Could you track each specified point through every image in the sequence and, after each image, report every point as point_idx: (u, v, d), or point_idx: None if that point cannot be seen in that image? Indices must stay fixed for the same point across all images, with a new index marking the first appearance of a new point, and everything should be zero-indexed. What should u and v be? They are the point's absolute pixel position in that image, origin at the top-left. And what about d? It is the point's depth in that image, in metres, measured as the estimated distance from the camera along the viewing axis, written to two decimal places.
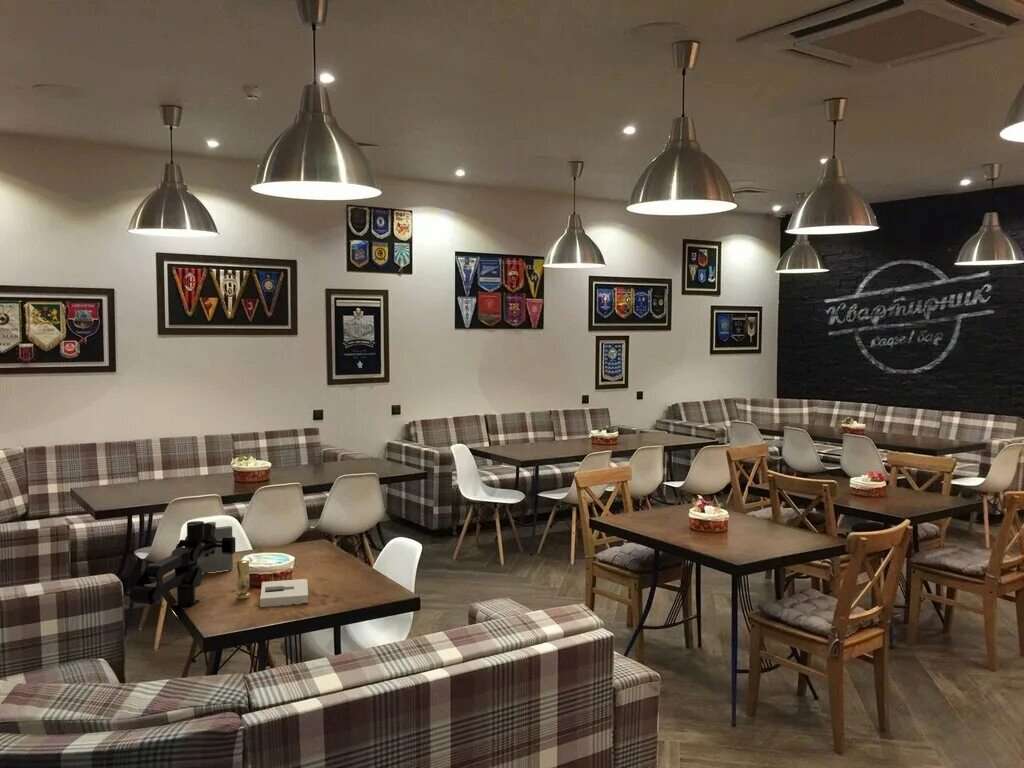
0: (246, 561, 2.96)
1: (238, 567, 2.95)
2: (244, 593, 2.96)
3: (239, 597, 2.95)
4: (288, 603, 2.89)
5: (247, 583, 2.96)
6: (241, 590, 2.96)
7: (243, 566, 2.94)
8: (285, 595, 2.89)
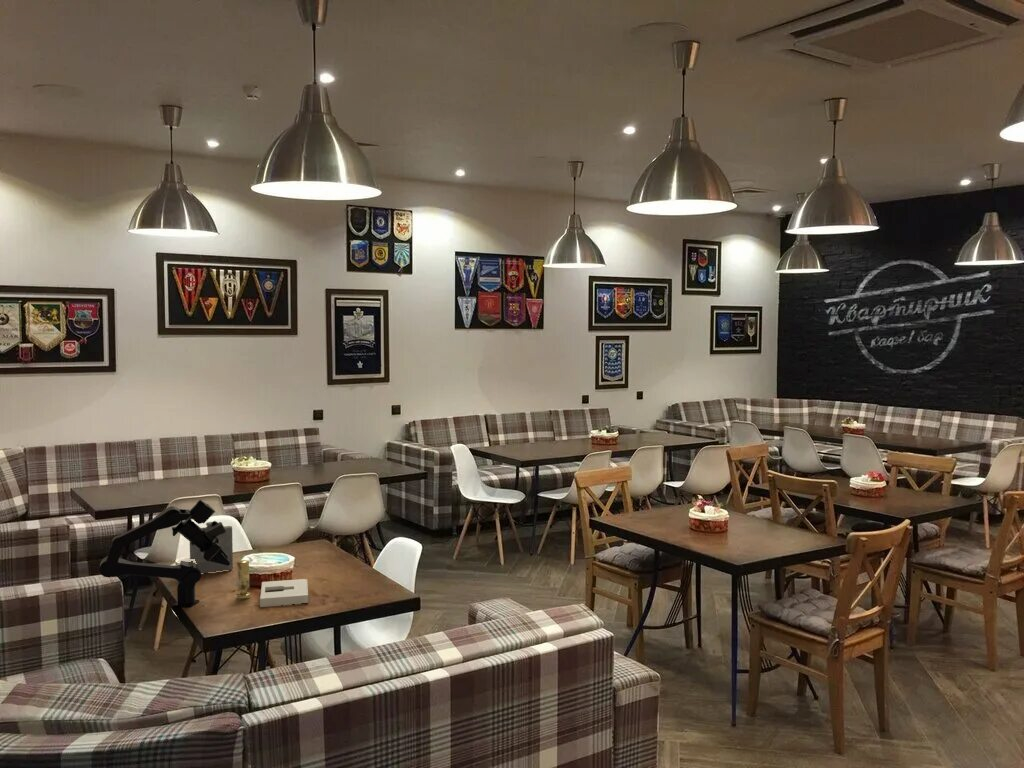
0: (246, 561, 2.96)
1: (238, 567, 2.95)
2: (244, 593, 2.96)
3: (239, 597, 2.95)
4: (288, 603, 2.89)
5: (247, 583, 2.96)
6: (241, 590, 2.96)
7: (243, 566, 2.94)
8: (285, 595, 2.89)
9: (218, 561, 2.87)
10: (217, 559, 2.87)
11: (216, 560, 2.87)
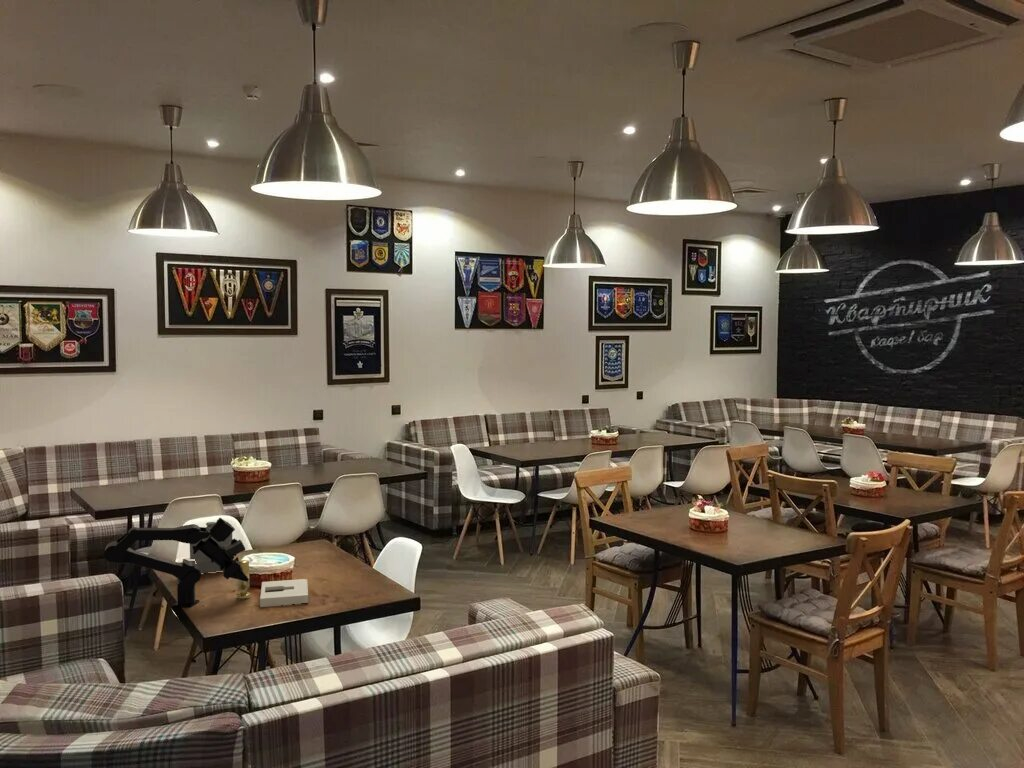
0: (246, 561, 2.96)
1: None
2: (244, 593, 2.96)
3: (239, 597, 2.95)
4: (288, 603, 2.89)
5: (247, 583, 2.96)
6: (241, 590, 2.96)
7: (243, 566, 2.94)
8: (285, 595, 2.89)
9: (237, 577, 2.92)
10: (236, 575, 2.92)
11: (235, 576, 2.92)
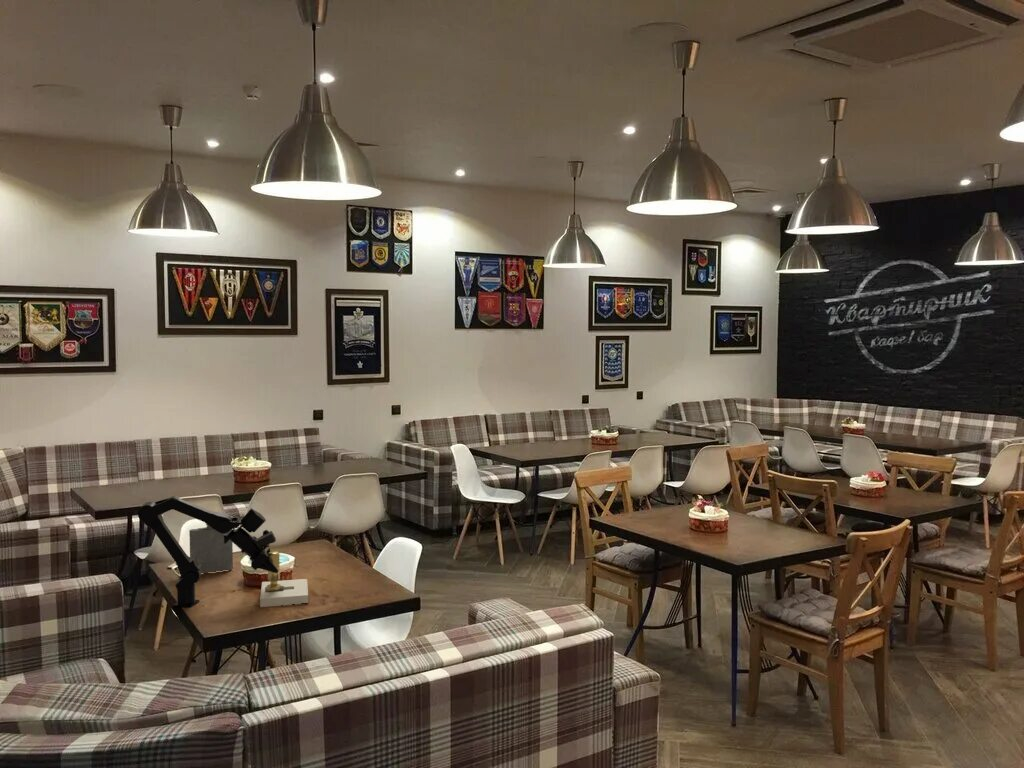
0: (276, 553, 2.96)
1: None
2: (274, 584, 2.96)
3: (269, 588, 2.95)
4: (288, 603, 2.89)
5: (277, 575, 2.95)
6: (271, 581, 2.96)
7: (273, 557, 2.94)
8: (285, 595, 2.89)
9: (266, 568, 2.92)
10: (265, 566, 2.92)
11: (264, 567, 2.92)
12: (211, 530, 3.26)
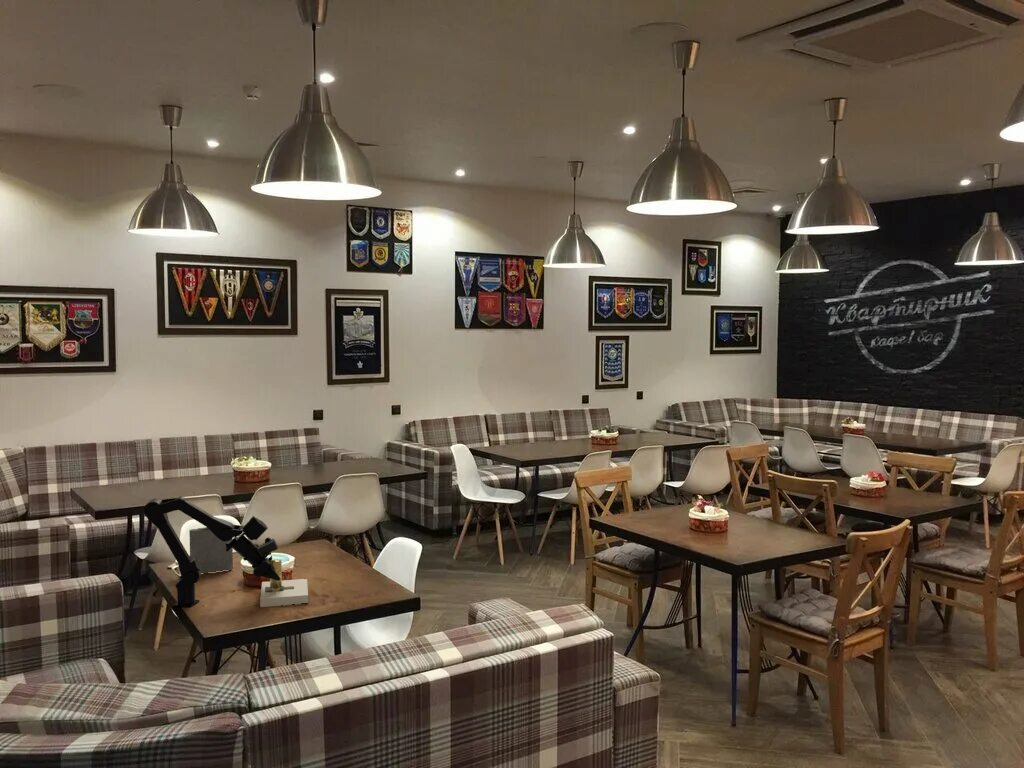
0: (279, 560, 2.97)
1: None
2: None
3: None
4: (288, 603, 2.89)
5: (279, 582, 2.96)
6: (273, 589, 2.96)
7: (275, 565, 2.95)
8: (285, 595, 2.89)
9: (269, 576, 2.93)
10: (268, 574, 2.93)
11: (267, 575, 2.92)
12: None
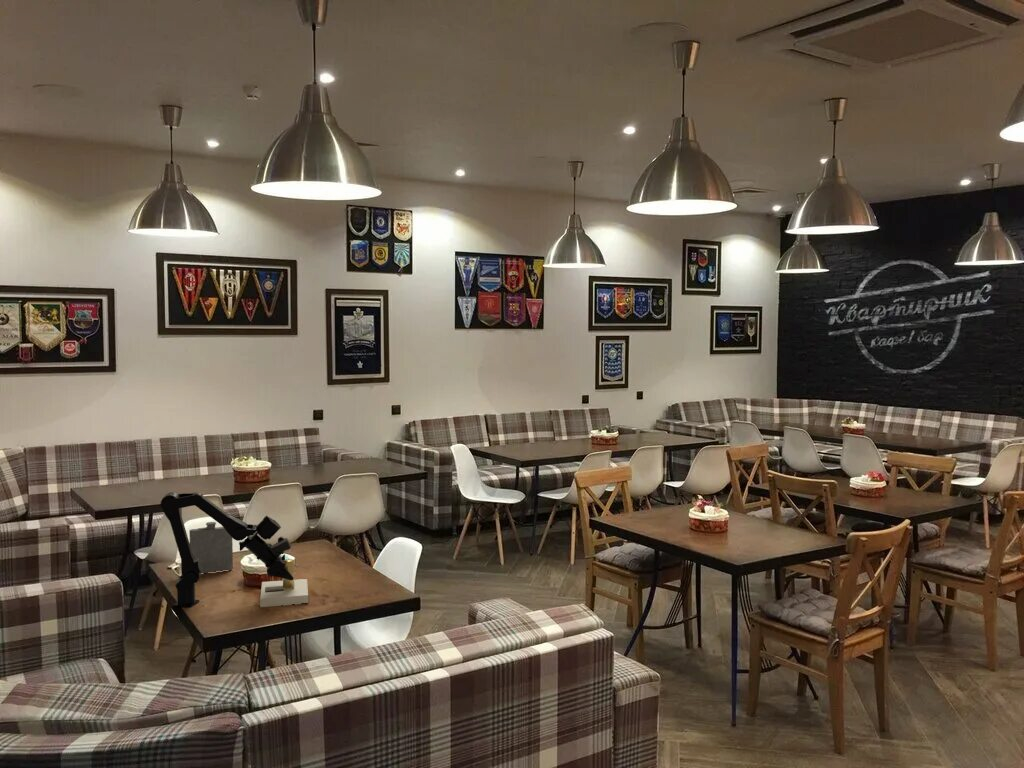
0: (291, 560, 2.98)
1: None
2: None
3: None
4: (288, 603, 2.89)
5: (292, 582, 2.97)
6: (286, 589, 2.97)
7: (288, 565, 2.96)
8: (285, 595, 2.89)
9: (282, 576, 2.93)
10: (281, 574, 2.93)
11: (280, 575, 2.93)
12: (211, 530, 3.26)
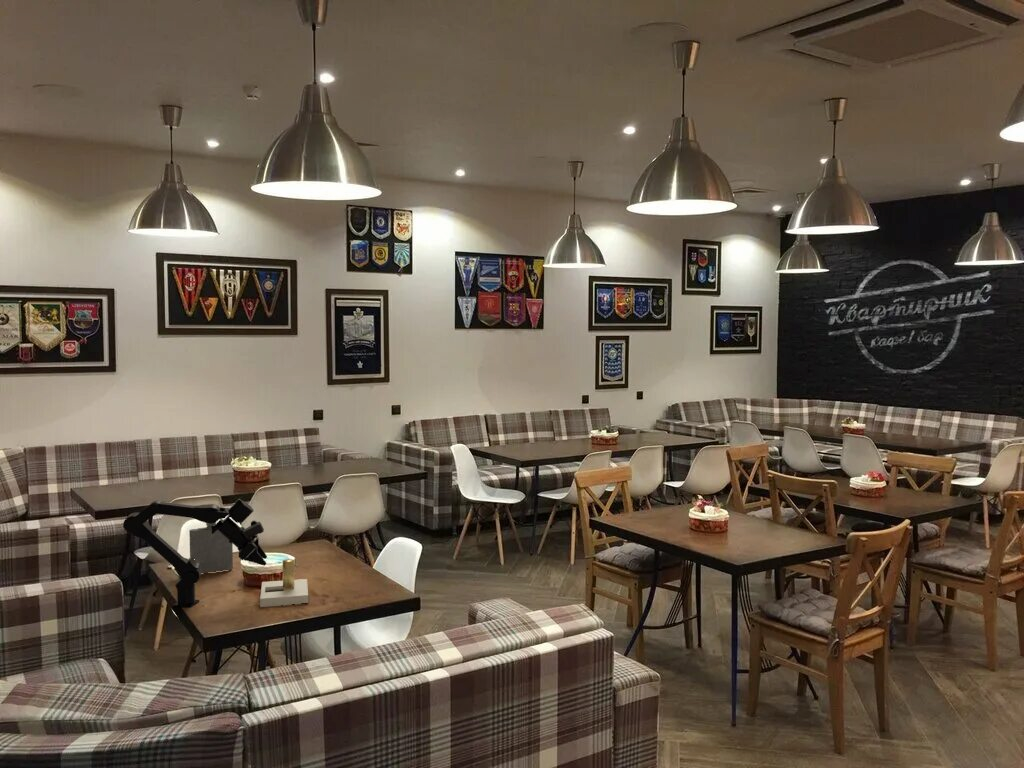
0: (291, 560, 2.98)
1: (283, 566, 2.96)
2: None
3: None
4: (288, 603, 2.89)
5: (292, 582, 2.97)
6: (286, 589, 2.97)
7: (288, 565, 2.96)
8: (285, 595, 2.89)
9: (254, 560, 2.89)
10: (253, 558, 2.89)
11: (252, 559, 2.88)
12: (211, 530, 3.26)
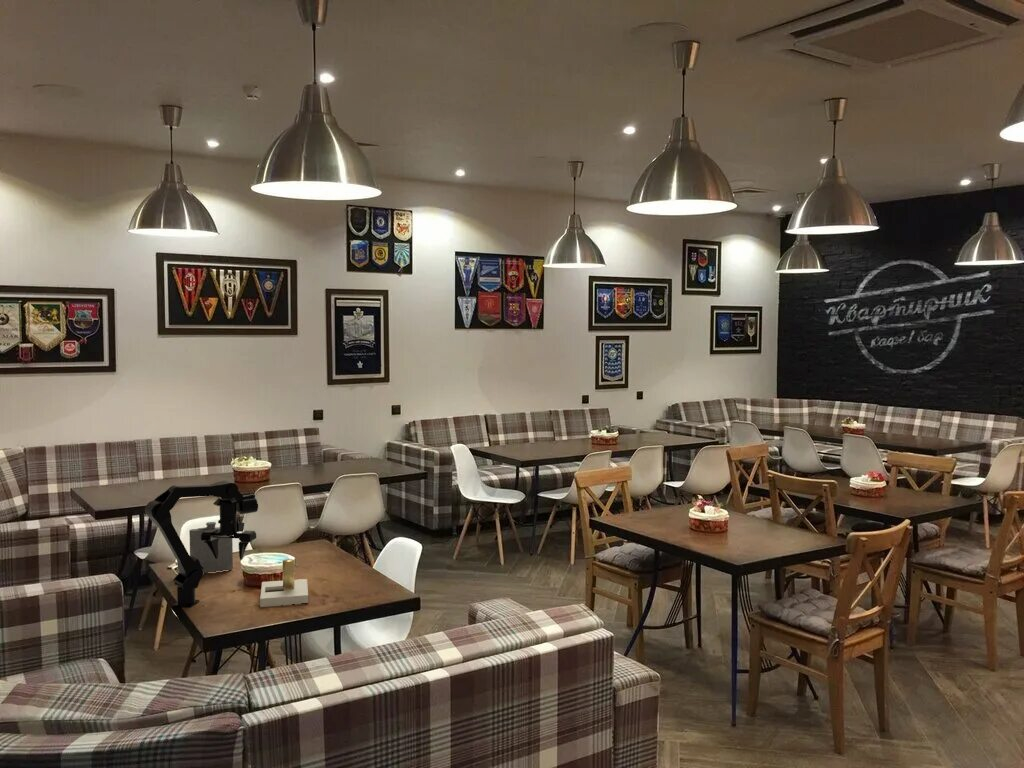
0: (291, 560, 2.98)
1: (283, 566, 2.96)
2: None
3: None
4: (288, 603, 2.89)
5: (292, 582, 2.97)
6: (286, 589, 2.97)
7: (288, 565, 2.96)
8: (285, 595, 2.89)
9: (242, 549, 2.97)
10: (243, 547, 2.97)
11: (243, 547, 2.97)
12: None
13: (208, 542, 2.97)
